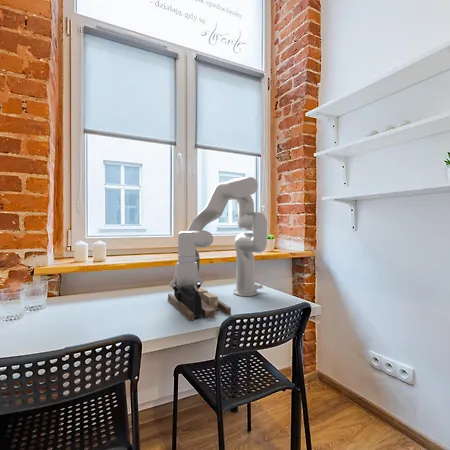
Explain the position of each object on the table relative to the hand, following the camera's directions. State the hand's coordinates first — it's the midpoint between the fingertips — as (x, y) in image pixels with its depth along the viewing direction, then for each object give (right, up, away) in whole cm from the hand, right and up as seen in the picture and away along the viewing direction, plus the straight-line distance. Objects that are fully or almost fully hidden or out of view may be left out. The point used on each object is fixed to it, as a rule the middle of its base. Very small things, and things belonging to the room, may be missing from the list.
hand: (186, 300), depth 131 cm
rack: (+4, -4, +2) cm, 6 cm away
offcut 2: (+10, -4, +1) cm, 11 cm away
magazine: (0, -4, 0) cm, 4 cm away
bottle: (-1, -3, +31) cm, 31 cm away
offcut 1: (+5, -3, +10) cm, 12 cm away
